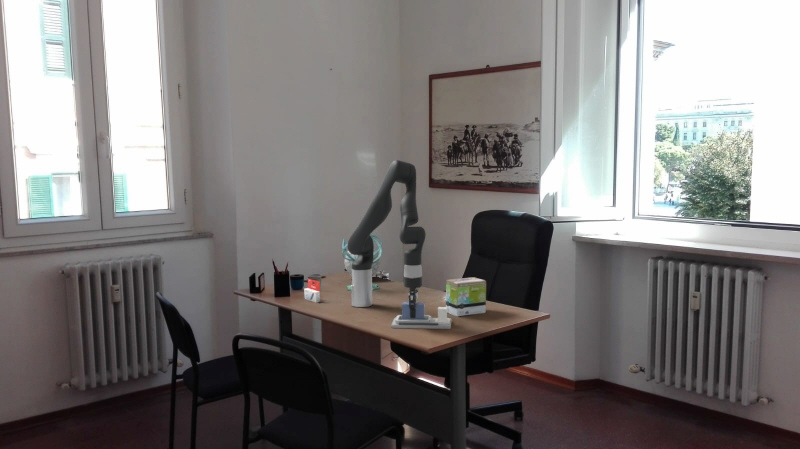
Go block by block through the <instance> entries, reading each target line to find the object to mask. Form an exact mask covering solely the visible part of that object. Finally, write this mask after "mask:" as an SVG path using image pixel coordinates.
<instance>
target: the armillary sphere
mask: <svg viewBox="0 0 800 449" xmlns="http://www.w3.org/2000/svg"><path fill="white" fill-rule="evenodd" d="M370 236H371V237H372V239H373V242H375V243H376V245H377V247H378V249H377V250H376V252H375V253H374V254H373V256H374V255H375V254H376V253H378V255H379V256H378V257H377V258H376V259H375V260H374V261H373V263H372V264H374V263H376V262H377V261H378V260H379V259H380V260H381V257H382V254H383V248H382V246H383V241H382V239H381V238H380V237H379V236H378V235H376V234H372V233H371V234H370ZM376 238H377V239H379V240H380V243H379V241H378V240H377V239H376ZM347 245H348V242H347V243H346V239H345V238H343V239H342V246H341V247H342V248H341V249H342V251H341V256H343V258H344V260H345V259H346V260H348V261H352V262H354V261H355V260H356V259H357V256H355V259H354V258H353V257H352V256H350V255H349V254H348V250H347V248H348V246H347ZM344 254H345V255H344ZM346 255H347V256H348V257H349V258H350V259H348V258H346V257H345V256H346ZM351 286H352V284H350V285H347V286H346V289H347V291H351ZM377 286H378V287H377ZM375 290H380V287H379V285H378V284H376V283H375V284H374V283H372V292H373V291H375Z"/></svg>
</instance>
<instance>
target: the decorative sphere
mask: <svg viewBox="0 0 800 449" xmlns="http://www.w3.org/2000/svg"><path fill="white" fill-rule="evenodd" d="M376 251H377V250H376V248H374V253H375V252H376ZM347 252H348V254H349V255H350V256H352V257H353V258H354V259H355V256H357V257H358V255H353V254H351V253H350V252H349V251H348V250H347ZM378 256H379V252H378V253H376V254H375V255H374V256H373V261H374V260H375V259H376V258H377V257H378ZM344 257H346V258H348V259H350V258H349V257H348V256H347V255H346V254H345V255H344ZM352 263H353V262H352V261H348V260H346V259H345V258H344V267H345V271H347V273H348V274H349V275H350V276H351V277H352ZM380 264H381V258H380V259H379V260H378V261H377V262H376V263H374V264H372V277H373V276H374V275H375V274H376V273H377V272H378V269H379V268H380Z"/></svg>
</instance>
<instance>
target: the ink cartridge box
mask: <svg viewBox="0 0 800 449" xmlns="http://www.w3.org/2000/svg"><path fill="white" fill-rule="evenodd" d="M320 287H321V281H319V280H318V281H317V280H314V279H310V278H307V288H306V287H305V288H303V290H304V294H303V295H304V299H305V300H307V301H310V302H314V303H321V290H320V289H321V288H320Z"/></svg>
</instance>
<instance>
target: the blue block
mask: <svg viewBox="0 0 800 449" xmlns="http://www.w3.org/2000/svg"><path fill="white" fill-rule="evenodd" d="M425 303H426V302H421V301H417V303H416V317H415V318H410V308H409V302H408V301H403V302H402V303H401V315H402V319H424V317H425V313H426V311H425V308H426V305H425ZM411 305H414V304H411Z"/></svg>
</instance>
